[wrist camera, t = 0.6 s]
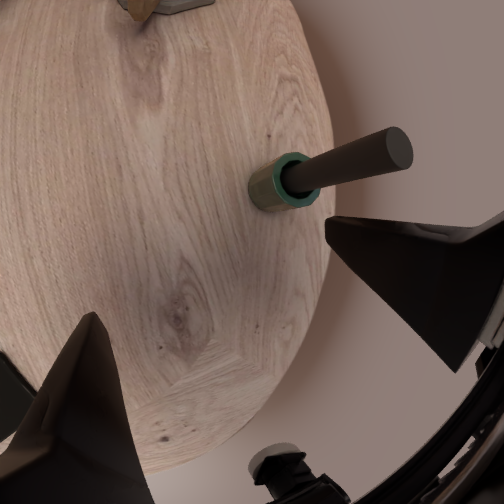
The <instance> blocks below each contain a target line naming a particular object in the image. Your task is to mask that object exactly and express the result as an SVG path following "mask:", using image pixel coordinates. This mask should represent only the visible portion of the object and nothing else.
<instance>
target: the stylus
mask: <svg viewBox="0 0 504 504" xmlns="http://www.w3.org/2000/svg"><path fill="white" fill-rule="evenodd" d="M412 162H413V149H412V146H411V142H410V140H409V138H408V137H407V135H406V134H405V133H404V132H403V131H402V130H401V129H400V128H398V127H390V128H387V129H384V130H381V131H379V132H376V133H373V134H371V135H368V136H365V137H363V138H360V139H358V140H355V141H353V142H350V143H347V144H345V145H342V146H340V147H337V148H335V149H332V150H330V151H328V152H325V153H323V154H320V155H318V156H316V157H313V158H311V159H309V160H306V161H304V162H302V163H299V164H297V165H295V166H292V167H290V168H288V169H286V170H283V171H281V174H280V181H281V185H282V188H283V189H284V190H285V192H286V193H287V194H288V195H289V196H291V195H295V194H299V193H303V192H307V191H311V190H315V189H319V188H323V187H328V186H332V185H336V184H340V183H344V182H349V181H353V180H358V179H362V178H367V177H372V176H376V175H381V174H386V173H391V172H395V171H400V170H405V169H408V168H409V167H410V166H411V164H412Z"/></svg>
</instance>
